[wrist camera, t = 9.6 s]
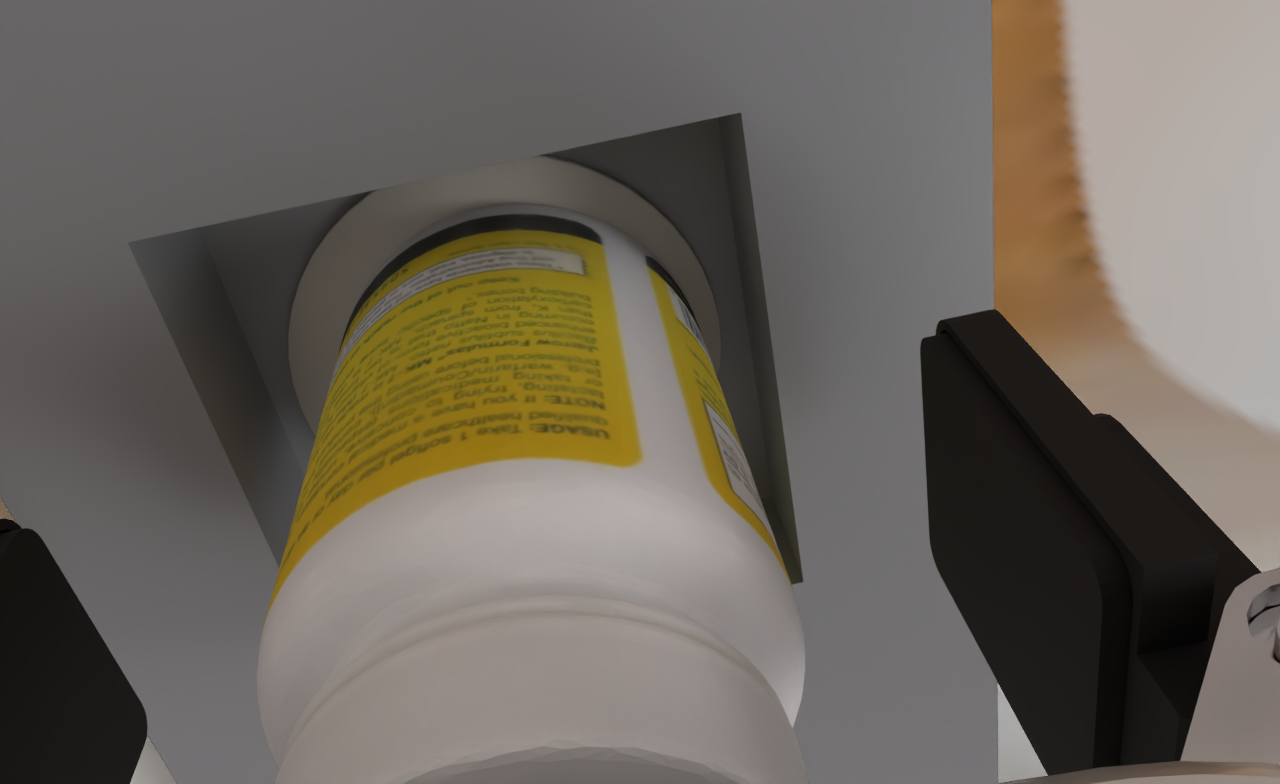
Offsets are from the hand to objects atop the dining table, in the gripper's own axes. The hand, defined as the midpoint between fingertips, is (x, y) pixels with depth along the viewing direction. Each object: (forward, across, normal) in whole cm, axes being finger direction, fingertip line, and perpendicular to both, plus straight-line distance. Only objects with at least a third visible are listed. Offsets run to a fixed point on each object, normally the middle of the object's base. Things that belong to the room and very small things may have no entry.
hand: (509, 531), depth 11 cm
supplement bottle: (+4, 0, 0) cm, 4 cm away
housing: (+4, 0, +6) cm, 8 cm away
